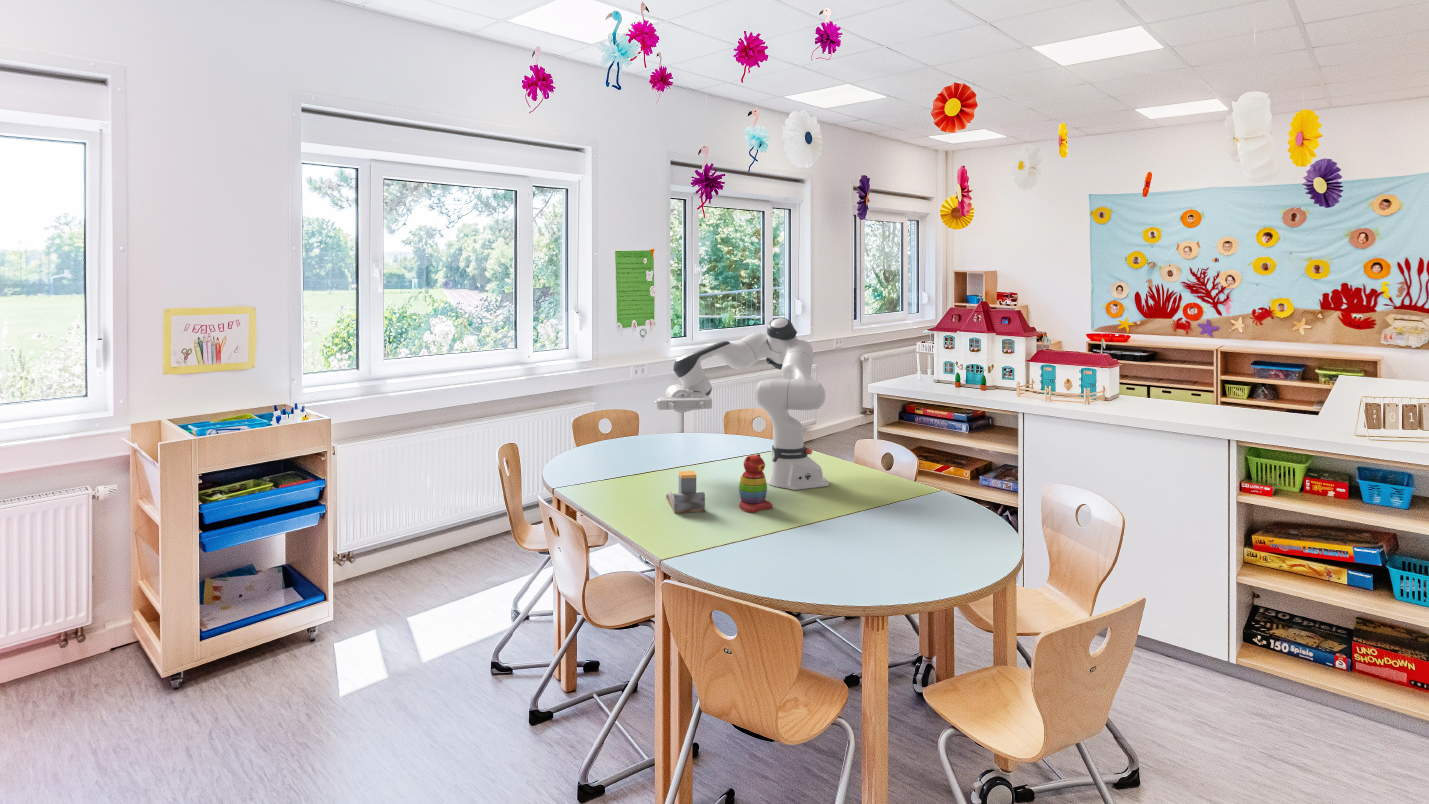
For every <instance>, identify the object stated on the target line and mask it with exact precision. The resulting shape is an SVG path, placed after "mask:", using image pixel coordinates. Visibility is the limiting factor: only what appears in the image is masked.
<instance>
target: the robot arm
mask: <svg viewBox="0 0 1429 804" xmlns="http://www.w3.org/2000/svg"><path fill="white" fill-rule="evenodd" d="M766 333H767V335H766V334H764V333H762V332H757V331H756V332H753V333H751V334H748V335H746V336H744V337H742V338H740V340H738V341H736V342H730V341H728V340H724V341H720V342H716V343H713V344H711V345H709V346H706V347H703V348H701V349H699V350H696V351H693V352H691V353H686V354H684V355H682V356H679V357H678V358H677V359H675V360H674V364H673V372H674V373H675V375H676V376H677V378H678V379H679V381H680V382H681V385H680V384H677V383H676V384H671V385H670V386H668V387H667V389H666V390H665V393H664V396H663V397H662V396H661V397H657V398H656V400H654V401H653V403H654V404H655V405H656V409H657V410H658V411H660V410H661V411H663V410H664V411H666V410H667V411H668V410H673V411H674V412H676V413H679V414H684V413H686V412H691V411H696V410H697V411H699V410H711V409H712V408H713V399H712V397H710V396H711V394H712V390H713V386H712V384H711V382H710V380H709V378H708V376H707V375H706V373H705V371H704V369H703V366H702V365H701V362H702V361H704V360H707V359H709V358H712V357H714V356H716V357H718V358H719V359H721V360H722V361H723V362H724V363H725V364H726V365H727V366H729V367H730V368H732V369H733V370H737V371H743V370H747V369H749V367H752V366H753V365H755V364H756V363H757V362H758V361H760V360H761V359H765V360H766V361H765V362H767V364H768V365H771V366H772V367H774V368H775V369H777V370H780V375H781V378H767V379H761V380H760V381H759V382H758V383H757V384H756V387H755V390H754V399H755V400H756V402H757V404H758V405H759V406H760V407H761V408H763V409H764V411H765V412H766V413H767V414H768V416H769V419H770V420H771V424H772V430H773V431H772V433H773V434H772V435H773V436H772V437H773V438H772V439H773V440H772V442H773V443H772V445H771V462H772V463H771V469H770V473H769V478H768V480H767V483H768V484H769V485H770V486H773V487H777V488H783V489H788V490H791V491H792V490H793V491H795V490H806V489H813V488H823V487H829V485H830V483H829V482H830V481H829V480H828V479H827V478H826V477H824V474H823V469H822V467H821V466H820V464H819V463H817V462H816V461H815V460H813V459H812V458H811V457H810V456H809V455H812V454H813V450H812V449H811V448H808V447H806V446H805V445H804V437H805V436H804V431H805V428H804V426H803V423H802V422H801V421H799V420H798V419H796V418H794V417H793V416H792V415H790V413H789V410H793V411H814V410H818V409H819V410H820V408H822V406H823V404H824V403H825V400H826V390H825V388H824V386H823V384H821V383H820V382H818V381H817V380H815V379H814V378H813V377H812V375H811V374H812V367H813V363H814V349H813V346H812V345H811V343H810V342H808V341H807V340H803V339H798V337H797V335H798V334H797V333H798V331H797V330H796V329H795V326H794V325H793V323H792V321H791V320H790V319H788V318H785V317H775V318H774V319H772V320H771V321H769V322H768V324H767V328H766Z"/></svg>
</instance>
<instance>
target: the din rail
mask: <svg viewBox="0 0 1429 804" xmlns="http://www.w3.org/2000/svg"><path fill="white" fill-rule="evenodd" d="M665 498H666V500H667V502H668V503H669V505H670V507H671V509H672V511H673V513H674V514H687V513H702V512H704V513H705V512H706V511H705V510H706V509H705V508H706V507H705V505H706V500H705V499H706V493H705V492H703V491H701V492H697V491H696V493H679V492H678V493H677V492H676V493H673V491H672V490H668V492H667V494H666V495H665Z"/></svg>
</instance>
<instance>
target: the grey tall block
mask: <svg viewBox="0 0 1429 804" xmlns="http://www.w3.org/2000/svg"><path fill="white" fill-rule="evenodd" d="M678 493H697V473H696V471H694V470H685V471H684V470H683V471H678Z"/></svg>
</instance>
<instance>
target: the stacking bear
mask: <svg viewBox="0 0 1429 804" xmlns="http://www.w3.org/2000/svg"><path fill="white" fill-rule="evenodd" d="M743 467H744V470H745V471H744V472H743V473H742V474H741V476H740V481H739V484H738V490H739V491H738V492H739V495H740V496H739V497H740V502H739V505H738V507H739V508H740V510H741V511H744V512H745V513H750V514H751V513H752V514H754V513H757V512H758V511H762V510H763V511H764V510H771V509H773V507H774V505H773V503H772V502H770V501H769V500H766V498H767V493H768V484H767V483H768V482H767V478H766V475H765V473H764V470H765V468H766V463H765V461H764V459H763V457H761V454H760V453H757V454H751V455H748V456H746V457H745V459H744V461H743Z"/></svg>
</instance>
